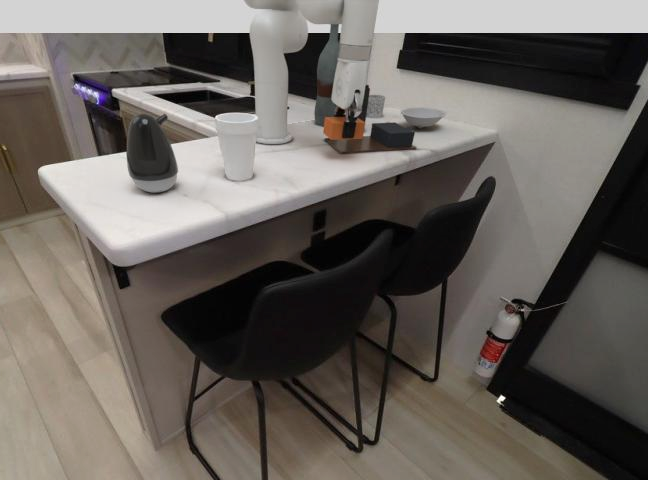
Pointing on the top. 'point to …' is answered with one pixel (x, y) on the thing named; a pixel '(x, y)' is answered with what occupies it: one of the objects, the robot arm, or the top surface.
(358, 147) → the board
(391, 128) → the back pad
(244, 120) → the foam cup
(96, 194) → the top surface
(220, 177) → the top surface
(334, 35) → the bottle
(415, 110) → the dish
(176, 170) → the pump dispenser
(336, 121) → the loose pad
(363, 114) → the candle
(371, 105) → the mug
